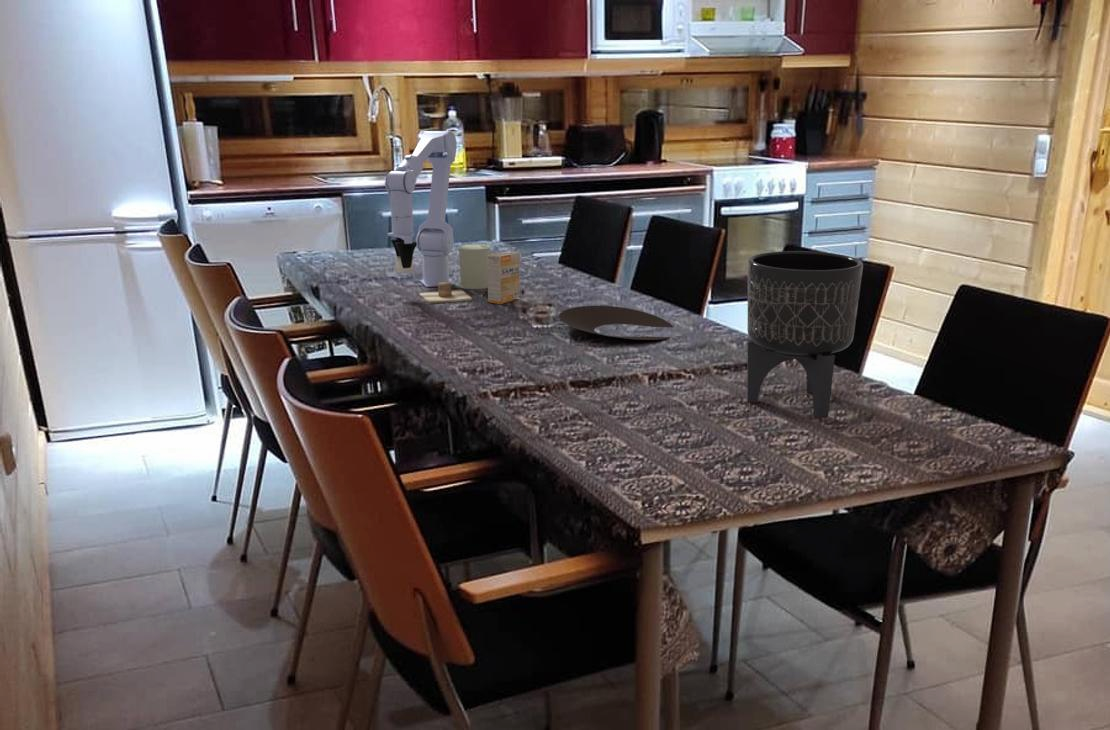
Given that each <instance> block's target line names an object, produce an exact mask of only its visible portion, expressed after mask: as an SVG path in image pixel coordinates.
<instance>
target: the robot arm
mask: <svg viewBox="0 0 1110 730" xmlns="http://www.w3.org/2000/svg"><path fill="white" fill-rule="evenodd" d="M457 145H458V143H457V139H456V135H455V133H454V131H452V130H423V129H422V130H421V131H420V132H419V133H418V135H417V145H416V147H415V148H414V150H413V152H412V154H409V155H408V154H407V155H405V156H404V158H403V159H402V161H401V162H400V163H399V164H398V166H397V167H396V168H395V170H391V171H390V172H388V173H387V174H386V176H385V180H384V181H385V182H384V187H385V190H386V192H387V197H388V200H390V201H389V202H390V214H391V232H388V233H387V236H388V237H394V238H390V242H391V244H392V245H393V248H394V252H395V254H396V257H398V256H400V258H401V263H402V267H403V268H411V264H412V257H413V258H414V253H415V250H416V248H417V250H418V251H419V252H420V255H422V260H421V264H422V265H421V266H422V267H421V268H422V279H419V282H420V283H421V284H423V286H425V287H426V288H431V287H432V288H433V287H438V283H441V282H450V283H451V286H453V285H454V283H453V282H451V280H450V274H449V273H450V271H449V270H450V269H449V254H450V253H451V252H452V251H453V249H454V245H455V240H454V229H453V227H452V226H451V225H450V224H449V223H447V221H446V213H447V206H448V205H447V204H448V194H449V185H450V184H449V183H450V177H451V176H450V174H451V165H452V164H453V163H454V162H455V161H456V155H457ZM425 161H426V162H428V163H430V164H431V165H432V173H431V184H430V193H429V203H428V211H427V212H428V213H427V219H426V220H425V221H424V222H423V223H421V224H419V228H418V232H417V235H416V237H415V241H413V237H414V236H415V231H414V215H413V195H412V193H413V192H414V190H415V187H416V183H417V178H418V177H419V175H420V174H421V173H422V171H423V170H424V162H425Z"/></svg>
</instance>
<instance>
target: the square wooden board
mask: <svg viewBox="0 0 1110 730" xmlns="http://www.w3.org/2000/svg"><path fill="white" fill-rule="evenodd" d="M450 282H451V281H450ZM450 282H441V283H438V286H437V287H438V289H437V291H428V292H426V291H425V292H418V294H419V297H421V299H423V300H424V301H425V302H426V304H428V305H432V304H433V305H435V304H446V303H457V302H459V303H460V302H467V301H473V298H472V297H471V296H470V295H468V294H467V293H466V292H465V291H464V290H462V289H453V290H452V285H451V283H450Z"/></svg>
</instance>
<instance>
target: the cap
mask: <svg viewBox="0 0 1110 730" xmlns="http://www.w3.org/2000/svg"><path fill="white" fill-rule="evenodd" d="M394 260H395V268H396V269H395V271H396V273H397V274H407V273H414V256H413V257H412V264H411V268H403V267H402V263H401V258H400V256H398V257H397V256H395V257H394Z"/></svg>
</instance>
